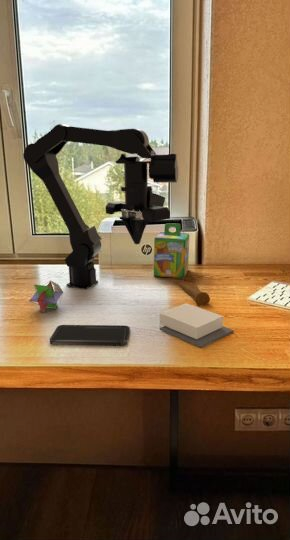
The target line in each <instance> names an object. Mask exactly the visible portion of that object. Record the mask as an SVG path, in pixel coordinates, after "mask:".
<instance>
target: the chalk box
mask: <svg viewBox="0 0 290 540" xmlns="http://www.w3.org/2000/svg"><path fill="white" fill-rule="evenodd" d="M170 228H174V229H175V231H174V232H173V231H170ZM181 229H182V225H181V223H173V222H172V223H170V222H169V223H165V224H164V231H162V232H161V231H160V232H159V233H158V234H157V235H156V236H155V237H154V245H153V246H154V248H153V250H154V251H153V277H161V278H173V279H185V277H186V275H187V273H188V270H189V256H190V255H189V254H190V234H189V233H185V232H181V231H182V230H181Z"/></svg>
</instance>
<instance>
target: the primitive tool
mask: <svg viewBox="0 0 290 540" xmlns="http://www.w3.org/2000/svg"><path fill="white" fill-rule="evenodd" d="M195 282H196V281H195V280H193V279H191V278H186V279H185V278H184V279H182V280H174V281H173V283H174V284H175V286H178V287H179V288H181V289H182V291H185V292H186V293H187V294H188V295H189V296H190V297H192V298H194V301H195V305H197V306H206V305H208V304H209V303H210V301H211V297H210V295H209V294H208V293H207V292H205V291H202V290H200V289H199V287H198V286H197V285H196V284H195Z"/></svg>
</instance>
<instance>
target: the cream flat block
mask: <svg viewBox="0 0 290 540" xmlns="http://www.w3.org/2000/svg"><path fill="white" fill-rule="evenodd" d="M223 319H224V316H223V315H221V314H217V313H215V312H211V311H209V310H206V309H204V308H201V307H198V306H196V305H192V304H190V303H188V302H187V303H183V304H180V305H178V306H174V307H172V308H170V309H167V310H165V311H162V312H159V324H160V325H162V327H164V326H166V327H168V328H171V329H173V330H175V331H178V332H180V333H182V334H185V335H187V336H189V337H192V338H194V339H199V338H201V337H203V336H205V335H207V334H209V333H211V332H213V331H215V330H217V329H220V328H222V326H224V325H223V321H224V320H223Z"/></svg>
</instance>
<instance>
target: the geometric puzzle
mask: <svg viewBox="0 0 290 540" xmlns="http://www.w3.org/2000/svg"><path fill="white" fill-rule="evenodd" d="M46 284H47V285H46ZM33 286H34V289H35V293H34V294H33V293H31V296H30V298H29V302H30V303H31V304H35V305H37V306H39V309H40V312H41V314H44V313H47V312H51V311H52V310H49V309H50V308H52V309H59V306H60V305H59V304H61V299H62V297H63V295H64V290H63V289H62V288H61V286H60V285H59V284H58V283H56V282H54V281H52V280H49V281H48V282H46V283H45V284H43V285H42V284H34V285H33ZM32 294H33V295H32ZM59 299H60V302H59V304H58V301H59ZM46 308H47V309H46ZM45 309H46V310H45Z"/></svg>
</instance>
